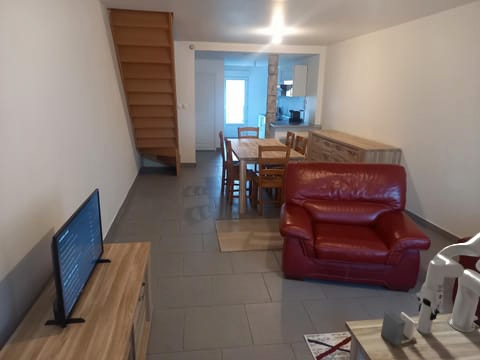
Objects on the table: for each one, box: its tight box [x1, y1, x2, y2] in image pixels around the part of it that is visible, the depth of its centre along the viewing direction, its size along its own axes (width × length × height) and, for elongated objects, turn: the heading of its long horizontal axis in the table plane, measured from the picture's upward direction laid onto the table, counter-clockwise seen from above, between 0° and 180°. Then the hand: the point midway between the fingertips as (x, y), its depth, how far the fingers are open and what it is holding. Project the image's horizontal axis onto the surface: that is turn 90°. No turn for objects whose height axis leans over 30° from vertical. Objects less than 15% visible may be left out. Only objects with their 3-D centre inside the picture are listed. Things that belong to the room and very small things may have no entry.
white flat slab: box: [399, 311, 416, 341], centre depth 172 cm, size 1×9×10 cm, turn 21°
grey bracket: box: [380, 310, 417, 349], centre depth 171 cm, size 14×9×14 cm, turn 111°
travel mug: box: [416, 298, 434, 336], centre depth 176 cm, size 6×7×20 cm
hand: (426, 314), depth 176 cm, fingers closed on travel mug, 6 cm apart
